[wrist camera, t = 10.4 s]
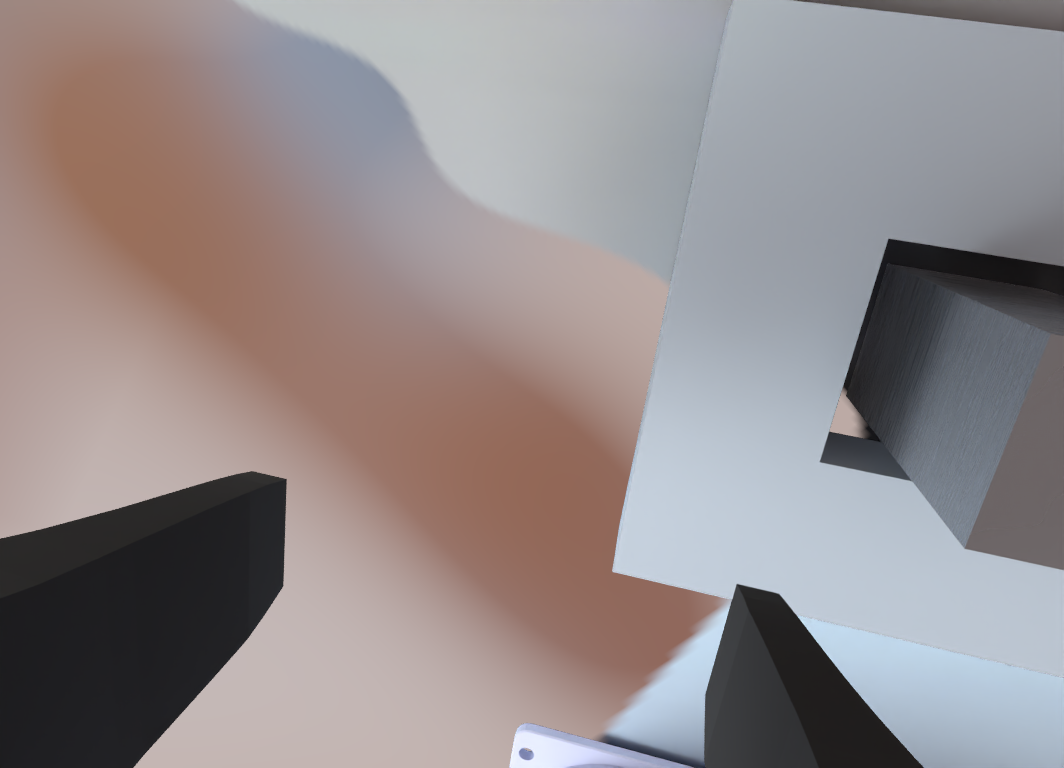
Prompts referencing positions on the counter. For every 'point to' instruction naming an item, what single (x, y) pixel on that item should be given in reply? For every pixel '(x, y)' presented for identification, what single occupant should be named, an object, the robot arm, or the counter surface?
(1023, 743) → the counter surface
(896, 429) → the square bit
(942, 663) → the counter surface
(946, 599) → the bore block
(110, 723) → the robot arm
